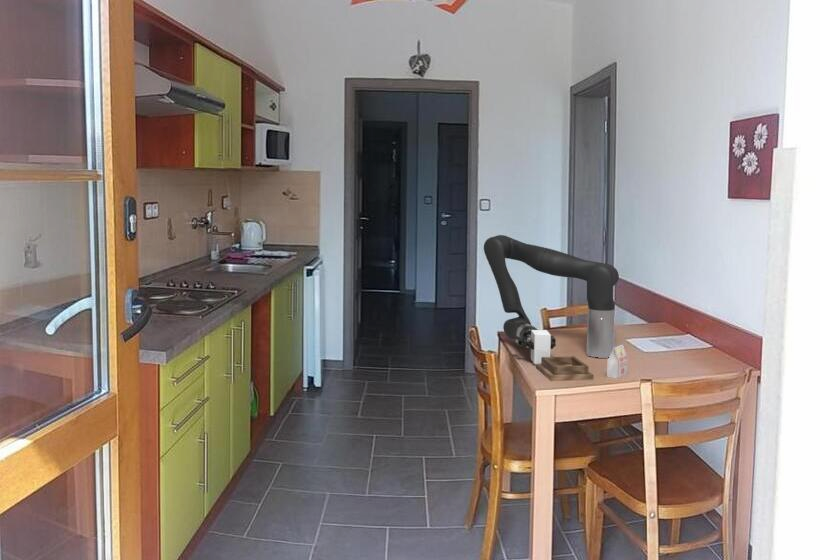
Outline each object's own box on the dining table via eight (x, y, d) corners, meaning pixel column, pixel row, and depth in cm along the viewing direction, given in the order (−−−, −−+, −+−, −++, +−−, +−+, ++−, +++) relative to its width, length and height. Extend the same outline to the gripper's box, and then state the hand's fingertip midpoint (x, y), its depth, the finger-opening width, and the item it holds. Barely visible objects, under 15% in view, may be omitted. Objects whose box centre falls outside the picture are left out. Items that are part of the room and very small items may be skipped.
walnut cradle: (576, 366, 247) (576, 355, 247) (593, 379, 231) (593, 367, 231) (536, 367, 246) (536, 356, 245) (550, 380, 230) (551, 368, 229)
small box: (550, 364, 248) (551, 334, 246) (533, 364, 248) (534, 334, 246) (546, 358, 256) (547, 329, 254) (530, 358, 256) (531, 329, 254)
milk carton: (606, 377, 234) (608, 347, 233) (616, 373, 239) (617, 343, 238) (617, 379, 232) (618, 348, 230) (626, 375, 237) (628, 345, 235)
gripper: (509, 326, 264) (522, 336, 247) (548, 325, 265) (563, 335, 249) (509, 346, 265) (521, 357, 248) (548, 345, 266) (562, 356, 250)
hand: (542, 346), depth 249 cm, fingers closed on small box, 6 cm apart
